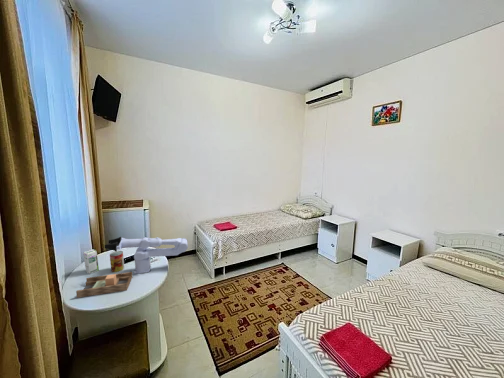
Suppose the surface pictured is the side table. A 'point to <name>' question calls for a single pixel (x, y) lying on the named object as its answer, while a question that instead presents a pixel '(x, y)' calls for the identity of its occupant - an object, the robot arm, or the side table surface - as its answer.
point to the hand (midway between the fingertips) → (106, 244)
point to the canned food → (117, 261)
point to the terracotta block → (110, 279)
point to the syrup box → (91, 261)
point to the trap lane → (99, 287)
